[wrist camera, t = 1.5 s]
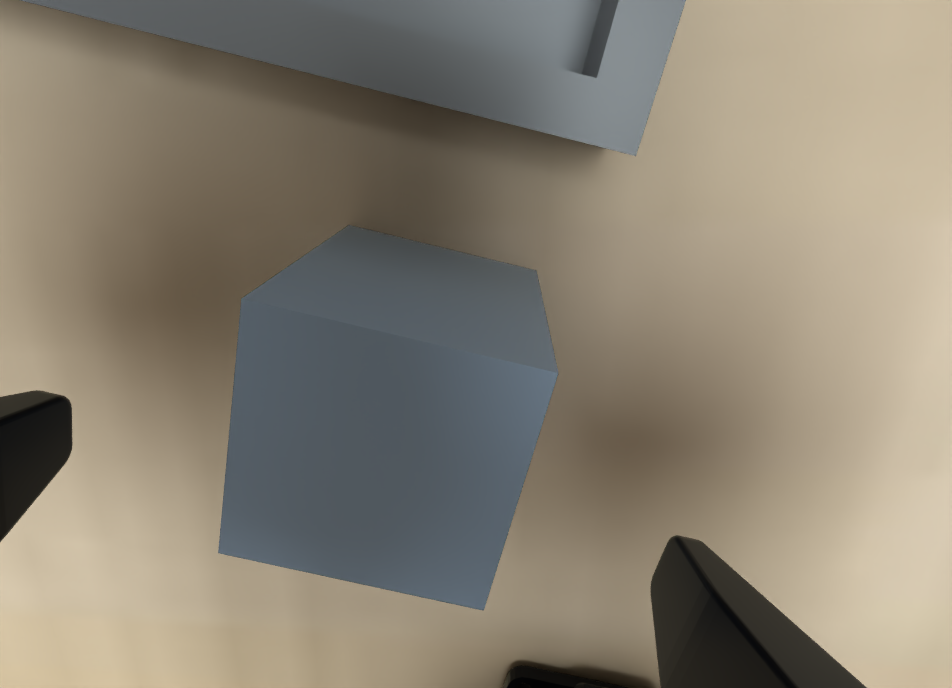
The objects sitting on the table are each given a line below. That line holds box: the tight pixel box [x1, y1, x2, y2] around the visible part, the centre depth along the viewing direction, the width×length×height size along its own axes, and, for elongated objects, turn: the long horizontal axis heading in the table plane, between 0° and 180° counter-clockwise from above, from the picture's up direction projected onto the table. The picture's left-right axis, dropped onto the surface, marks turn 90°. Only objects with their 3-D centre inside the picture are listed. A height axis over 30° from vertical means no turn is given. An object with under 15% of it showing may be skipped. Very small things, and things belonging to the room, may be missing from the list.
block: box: [218, 225, 558, 611], centre depth 12 cm, size 4×4×6 cm
